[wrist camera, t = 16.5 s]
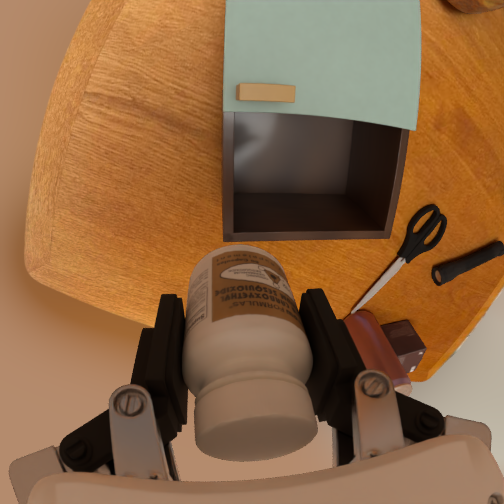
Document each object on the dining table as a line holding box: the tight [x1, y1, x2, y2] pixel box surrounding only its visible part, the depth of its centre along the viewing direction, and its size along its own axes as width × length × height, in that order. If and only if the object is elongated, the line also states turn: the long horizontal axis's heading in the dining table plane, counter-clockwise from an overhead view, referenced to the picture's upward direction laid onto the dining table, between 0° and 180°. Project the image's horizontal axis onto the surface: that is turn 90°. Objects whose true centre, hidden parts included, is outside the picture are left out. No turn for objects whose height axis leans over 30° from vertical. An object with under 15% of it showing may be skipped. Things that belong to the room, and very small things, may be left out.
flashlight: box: [432, 241, 504, 286], centre depth 39 cm, size 3×16×3 cm, turn 106°
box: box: [380, 320, 427, 373], centre depth 44 cm, size 6×6×7 cm
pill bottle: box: [182, 244, 318, 462], centre depth 10 cm, size 4×4×8 cm
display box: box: [221, 90, 409, 242], centre depth 25 cm, size 15×12×10 cm
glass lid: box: [223, 0, 421, 131], centre depth 14 cm, size 15×12×4 cm
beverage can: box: [344, 311, 412, 396], centre depth 38 cm, size 6×6×15 cm
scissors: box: [351, 205, 447, 314], centre depth 39 cm, size 7×1×20 cm
